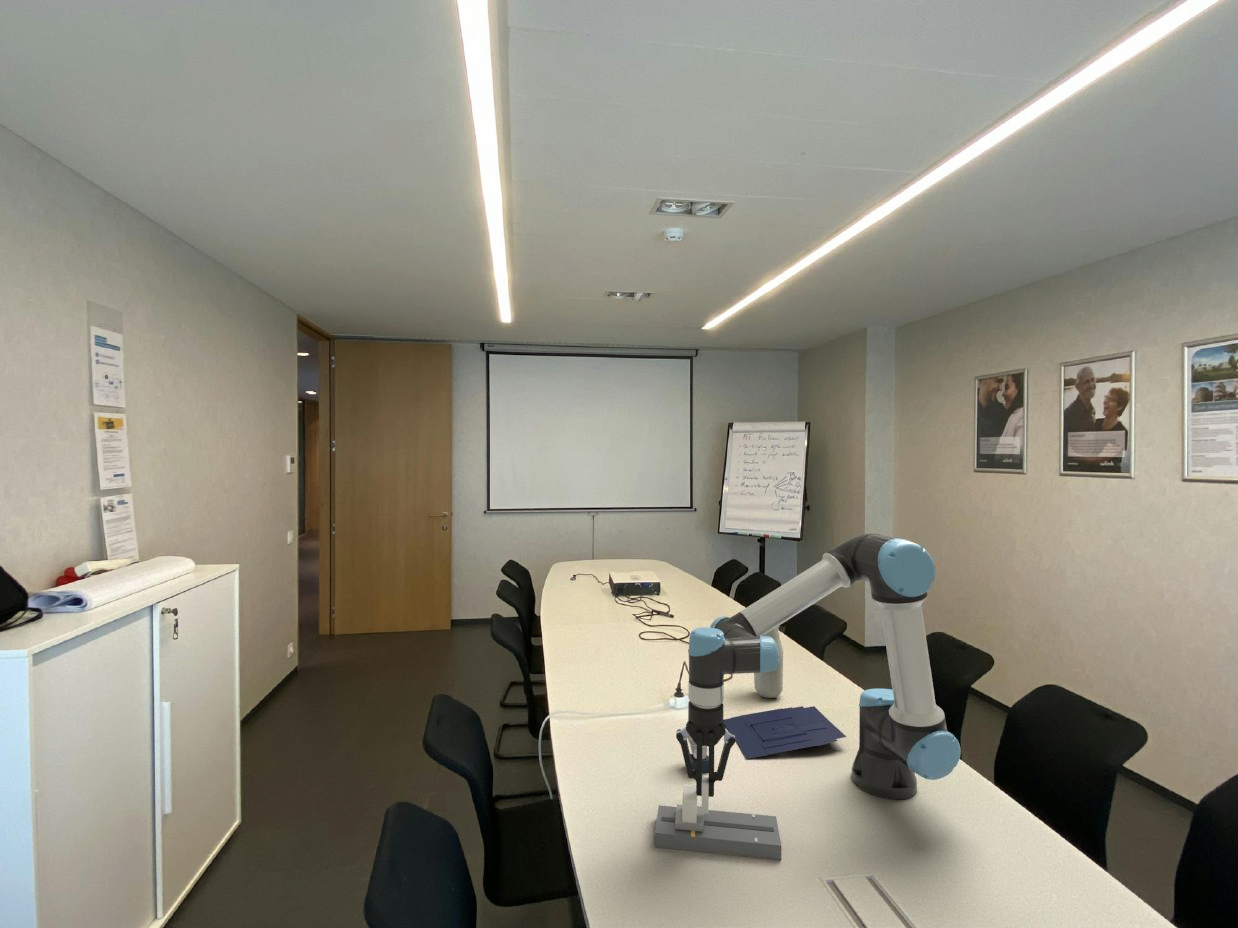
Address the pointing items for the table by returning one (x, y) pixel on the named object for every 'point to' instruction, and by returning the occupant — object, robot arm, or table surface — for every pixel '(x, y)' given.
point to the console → (722, 834)
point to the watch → (694, 755)
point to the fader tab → (689, 811)
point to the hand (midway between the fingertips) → (704, 809)
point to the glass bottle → (771, 673)
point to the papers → (781, 730)
